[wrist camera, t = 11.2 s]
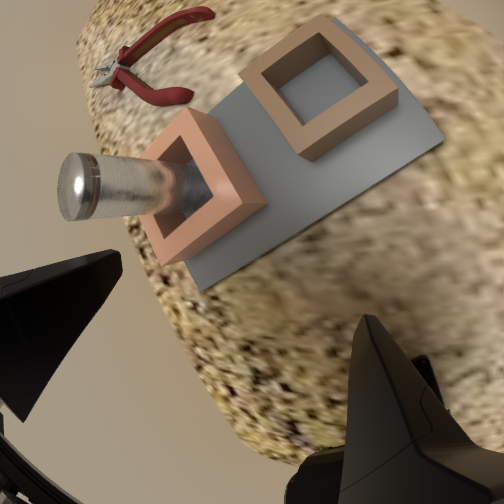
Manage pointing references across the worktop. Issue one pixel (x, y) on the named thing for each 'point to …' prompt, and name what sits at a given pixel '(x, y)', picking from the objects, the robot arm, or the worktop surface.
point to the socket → (217, 178)
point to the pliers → (130, 55)
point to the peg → (127, 187)
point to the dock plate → (311, 137)
